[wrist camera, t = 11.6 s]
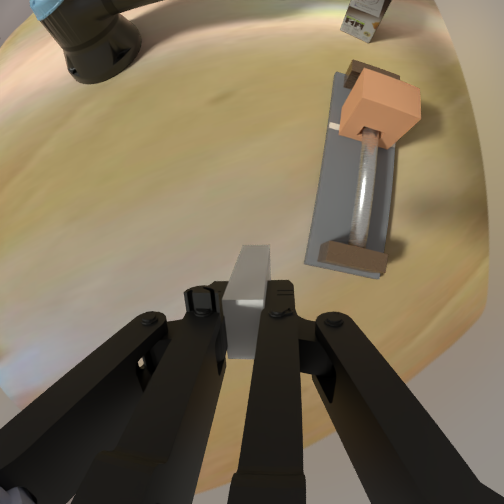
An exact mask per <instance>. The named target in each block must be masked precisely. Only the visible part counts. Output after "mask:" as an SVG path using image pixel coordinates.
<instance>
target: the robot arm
mask: <svg viewBox="0 0 504 504" xmlns="http://www.w3.org/2000/svg"><path fill="white" fill-rule="evenodd" d="M159 1H163V0H30V7H31V8H32V10H33V12H34V14H35V15H36V17H37V20H38V21H40V22H41V23H42V24H43V26H44V27H45V28H46V29H47V31H48V32H49V33H50V34H51V35H52V37H53V38H54V39H55V40H56V42H57V43H58V44H59V45H60V46H61V48H62V49H63V51H64V56H65V60H66V64H67V68H68V71H69V73H70V74H71V75H72V76H73V78H74V79H75V80H76V81H78V82H80V83H83V84H94V83H99V82H102V81H105V80H107V79H109V78H111V77H113V76H115V75H116V74H118V73H119V72H121V71H122V70H123V69H125V68H126V67H127V66H128V65H129V64H130V63H131V62H132V61H133V59H134V58H135V57H136V55H137V54H138V52H139V49H140V47H141V36H140V34H139V32H138V30H137V28H136V27H135V25H134V24H132V23H131V22H130V21H129V20H127V19H126V18H125V17H124V16H122V15H121V14H120V13H122V12H125V11H128V10H131V9H134V8H138V7H141V6H144V5H148V4H152V3H155V2H159ZM184 298H185V304H186V311H187V312H186V314H185V316H184V318H183V319H181V320H176V321H168V322H167V320H166V316H165V315H164V314H163V313H160V312H154V311H149V312H146V313H143V314H140V315H139V316H137V317H136V318H134V319H133V320H132V321H131V322H129V323H128V324H127V325H126V326H124V327H123V328H122V329H121V330H119V331H118V332H117V333H116V334H114V335H113V336H112V337H111V338H109V339H108V340H107V341H106V342H104V343H103V344H102V345H101V346H100V347H98V348H97V349H96V350H95V351H93V352H92V353H91V354H90V355H88V356H87V357H86V358H85V359H84V360H82V361H81V362H80V363H79V364H77V365H76V366H75V367H74V368H73V369H71V370H70V371H69V372H68V373H66V374H65V375H64V376H63V377H62V378H60V379H59V380H58V381H57V382H56V383H54V384H53V385H52V386H51V387H50V388H48V389H47V390H46V391H45V392H44V393H42V394H41V395H40V396H39V397H38V398H36V399H35V400H34V401H33V402H32V403H30V404H29V405H28V406H27V407H26V408H25V409H23V410H22V411H21V412H20V413H19V414H17V415H16V416H15V417H14V418H13V419H12V420H10V421H9V422H8V423H7V424H6V425H5V426H4V427H2V428H1V429H0V504H66V503H67V502H68V501H69V500H70V499H71V498H72V497H73V496H74V495H75V496H74V498H73V500H72V502H71V504H192V501H193V497H194V493H195V489H196V485H197V481H198V478H199V474H200V470H201V466H202V462H203V458H204V454H205V450H206V446H207V442H208V438H209V434H210V430H211V426H212V422H213V418H214V414H215V409H216V405H217V401H218V397H219V393H220V389H221V385H222V381H223V377H224V373H225V369H226V358H225V355H226V351H227V353H228V359H254V365H253V372H252V379H251V386H250V393H249V399H248V406H247V413H246V419H245V426H244V432H243V439H242V445H241V452H240V458H239V464H238V470H237V472H236V473H234V474H233V477H232V480H231V485H230V491H229V496H228V502H227V504H306V479H305V475H304V472H303V433H302V403H301V380H300V372H302V373H307V374H312V380H313V382H314V384H315V386H316V389H317V391H318V393H319V395H320V397H321V399H322V401H323V403H324V405H325V408H326V410H327V412H328V414H329V416H330V418H331V420H332V422H333V424H334V426H335V429H336V431H337V433H338V435H339V437H340V439H341V441H342V443H343V445H344V448H345V450H346V452H347V454H348V456H349V458H350V460H351V462H352V464H353V466H354V468H355V471H356V473H357V475H358V477H359V479H360V481H361V483H362V485H363V487H364V489H365V492H366V494H367V496H368V498H369V500H370V502H371V504H504V497H503V496H501V495H499V494H498V493H496V492H494V491H493V490H491V489H490V488H488V487H487V486H485V485H484V484H482V483H481V482H480V481H479V480H478V479H477V477H476V476H475V475H474V473H473V472H472V470H471V469H470V468H469V466H468V465H467V464H466V462H465V461H464V460H463V458H462V457H461V456H460V454H459V453H458V452H457V450H456V449H455V448H454V446H453V445H452V444H451V443H450V441H449V440H448V438H447V437H446V436H445V434H444V433H443V432H442V430H441V429H440V428H439V427H438V425H437V424H436V423H435V421H434V420H433V419H432V418H431V416H430V415H429V414H428V412H427V411H426V410H425V409H424V408H423V406H422V405H421V404H420V402H419V401H418V400H417V398H416V397H415V396H414V395H413V393H412V392H411V391H410V390H409V388H408V387H407V386H406V384H405V383H404V382H403V381H402V380H401V378H400V377H399V376H398V375H397V373H396V372H395V371H394V370H393V368H392V367H391V366H390V365H389V363H388V362H387V361H386V360H385V359H384V357H383V356H382V355H381V354H380V352H379V351H378V350H377V349H376V348H375V346H374V345H373V344H372V343H371V341H370V340H369V339H368V338H367V337H366V335H365V334H364V333H363V332H362V331H361V329H360V328H359V327H358V326H357V325H356V323H355V322H354V321H353V320H352V319H351V318H350V317H349V316H348V315H346V314H343V313H340V312H327V313H323V314H321V315H319V316H318V317H317V319H316V322H315V321H310V320H306V319H303V318H301V317H300V316H298V315H297V312H296V310H295V299H294V285H293V284H292V283H291V282H290V281H289V280H271V268H270V245H243V246H242V249H241V251H240V254H239V256H238V259H237V262H236V264H235V267H234V269H233V272H232V274H231V277H230V280H229V281H214V282H213V283H212V284H210V285H209V286H205V285H204V286H196V287H192V288H190V289H187V290H186V291H185V292H184ZM141 358H143V362H144V364H143V365H142V366H141V367H139V365H138V361H139V360H140V359H141Z"/></svg>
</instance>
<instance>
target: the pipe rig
mask: <svg viewBox="0 0 504 504" xmlns="http://www.w3.org/2000/svg"><path fill="white" fill-rule="evenodd" d="M364 68H366V69H370V70H373V71H375V72H378V73H381V74H384V75H387V76H389V77H392V78H395V79H397V80H400V76H399V75H396V74H394V73H391V72H388V71H386V70H383V69H380V68H377V67H374V66H371V65H368V64H365V63H362V62H359V61H356V60H352V62H351V64H350V66H349V68H348V70H347V72H346V74H345V76H344V85H343V87H344V88H347V89H351V90H352V88H353V87H354V85H355V83H356V81H357V79H358V78H359V76H360V74H361V72H362V70H363V69H364ZM378 140H379V131H378V130H375V129H371V128H368V127H365V126H364V127H363V131H362V142H361V152H360V161H359V170H358V178H357V186H356V193H355V201H354V208H353V214H352V221H351V227H350V233H349V239H348V245H347V244H343V243H339V242H334V241H327V242H325V243H322V244H321V245H320V250H319V255H318V260H317V262H321V263H326V264H331V265H335V266H340V267H345V268H349V269H354V270H358V271H363V272H368V273H385V272H386V266H387V260H388V254H385V253H381V252H377V251H373V250H369V249H366V243H367V237H368V230H369V224H370V216H371V209H372V201H373V193H374V184H375V175H376V165H377V153H378Z"/></svg>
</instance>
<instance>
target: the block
mask: <svg viewBox="0 0 504 504" xmlns="http://www.w3.org/2000/svg"><path fill="white" fill-rule="evenodd" d="M420 120H421V100H420V88H417V87H415V86H413V85H410V84H408V83H405V82H403V81H400V80H397V79H395V78H392V77H389V76H387V75H384V74H381V73H378V72H375V71H373V70H370V69H366V68H364V69H363V70H362V72H361V74H360V76H359V78H358V79H357V81H356V83H355V85H354V87H353V88H352V90H351V92H350V94H349V96H348V97H347V99H346V101H345V103H344V105H343V106H342V110H341V119H340V127H339V135H341V136H344V137H348V138H351V139H355V140H358V141H362V131H363V127H364V126H365V127H368V128H371V129H375V130H378V131H379V140H378V147H381V148H384V149H387V150H388V149H389V148H390V147H391V146H392V145H393V144H394V143H395V142H396V141H398V140H399V139H400V138H401V137H402V136H403V135H404V134H405V133H406V132H407V131H409V130H410V129H411V128H412V127H413V126H414V125H415V124H416V123H417V122H418V121H420Z"/></svg>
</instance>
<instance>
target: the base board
mask: <svg viewBox="0 0 504 504" xmlns="http://www.w3.org/2000/svg"><path fill="white" fill-rule="evenodd" d="M344 76H345V74H343V73H339V72H336V73H335V75H334V80H333V88H332V96H331V104H330V111H329V119H328V126H327V133H326V140H325V146H324V153H323V159H322V166H321V172H320V178H319V184H318V190H317V196H316V202H315V207H314V213H313V218H312V224H311V229H310V235H309V240H308V245H307V250H306V255H305V260H304V264H306V265H311V266H315V267H320V268H325V269H330V270H334V271H339V272H344V273H348V274H353V275H358V276H363V277H367V278H372V279H379V277H380V273H368V272H363V271H358V270H354V269H349V268H345V267H340V266H335V265H331V264H326V263H321V262H317V260H318V255H319V250H320V245H321V244H322V243H325V242H327V241H334V242H339V243H343V244H347V245H348V239H349V233H350V227H351V221H352V214H353V208H354V201H355V193H356V186H357V178H358V170H359V161H360V152H361V142H362V141H358V140H355V139H351V138H348V137H344V136H341V135H339V127H340V119H341V110H342V106H343V105H344V103H345V101H346V99H347V97H348V96H349V94H350V92H351V89H347V88H344V87H343V85H344ZM395 143H396V142H395ZM395 143H394V144H393V145H392V146H391V147H390V148H389V149H388V150H387V149H384V148H381V147H378V153H377V165H376V175H375V184H374V193H373V201H372V209H371V216H370V224H369V230H368V237H367V243H366V249H369V250H373V251H377V252H381V253H384V248H385V241H386V234H387V227H388V219H389V211H390V202H391V193H392V182H393V170H394V156H395Z"/></svg>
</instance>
